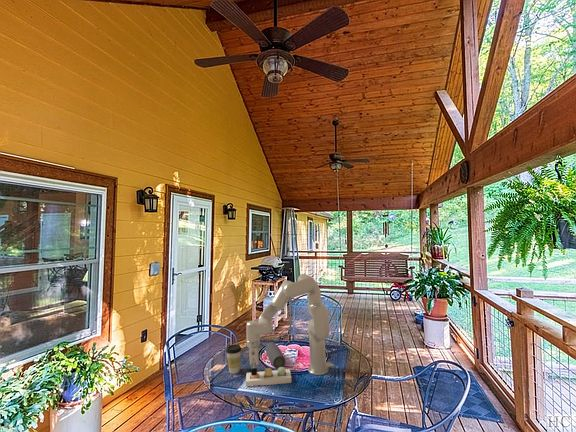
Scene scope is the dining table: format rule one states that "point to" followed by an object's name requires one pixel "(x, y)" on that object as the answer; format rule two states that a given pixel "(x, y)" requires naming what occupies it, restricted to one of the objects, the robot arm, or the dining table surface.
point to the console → (268, 378)
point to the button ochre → (268, 372)
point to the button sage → (281, 371)
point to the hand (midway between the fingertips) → (254, 374)
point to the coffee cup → (234, 358)
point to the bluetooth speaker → (275, 355)
